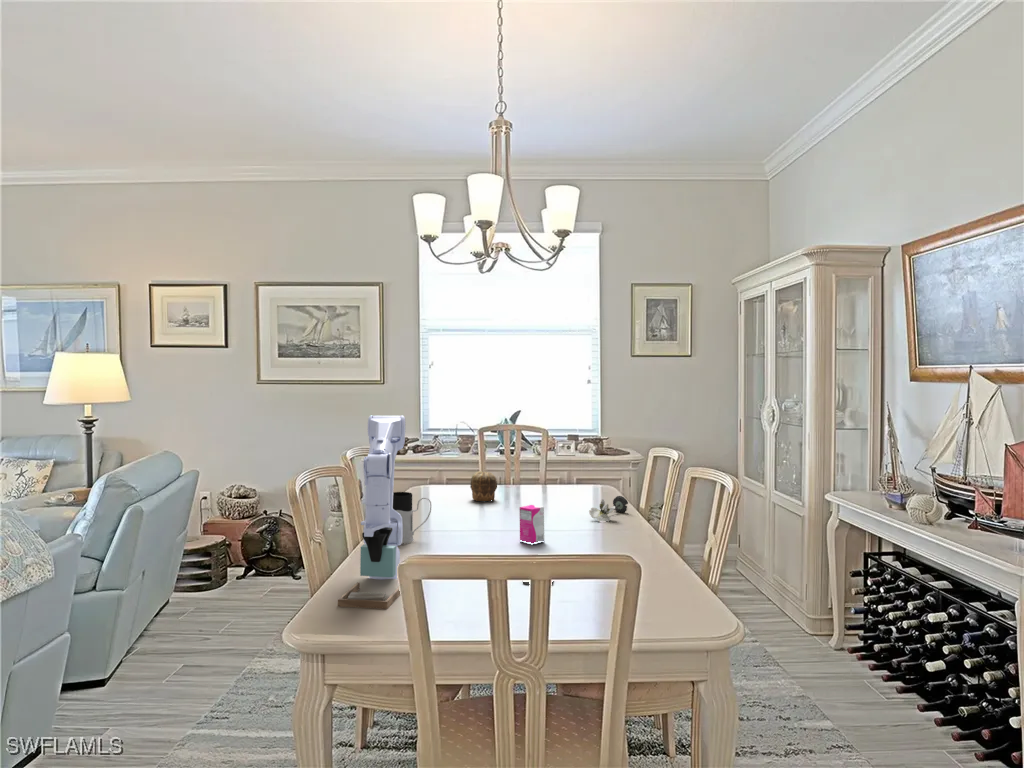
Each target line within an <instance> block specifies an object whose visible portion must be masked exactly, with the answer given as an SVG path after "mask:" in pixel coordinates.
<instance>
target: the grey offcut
mask: <svg viewBox="0 0 1024 768" xmlns="http://www.w3.org/2000/svg"><path fill="white" fill-rule="evenodd" d="M348 599H356V600H376V601H386V592H380V591H379V592H373V591H372V592H371V591H370V592H366V591H365V592H363V591H361V592H360V591H359V592H358V591H357V592H351V593H350V595H349V596H348Z"/></svg>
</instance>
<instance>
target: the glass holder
mask: <svg viewBox="0 0 1024 768" xmlns="http://www.w3.org/2000/svg"><path fill="white" fill-rule="evenodd" d="M422 500H427V501H428V502H429V503H430V505H429V506H430V507H429V513H428V514H427V517H426V519H424V521H423V522H422V523H421V524H420V525H418V526H417V527H416V528H415V529H413V528H414V522H413V521H414V519H413V518H414V517H413V516H414V513H413V512H417V511H418V510H419V507H420V506H419V505H420V502H421V501H422ZM416 505H417V508H416V509H413V492H409V491H393V509H394V510H395V511H396V512H398V513H399V514H400V515H401V517H402V524H403V539H402V543H401V544H400V545H404V544H403V543H407V544H410V543H409V542H411V543H413V542H414V541H415V538H414V535H415V532H416V531H417V530H418V529H419V528H420V527H422V526H423V525H424V524H425V523H426V522H427V521H428V519H429V517H430V515H431V513H432V501H431V499H429V498H428V497H421V498H420V499H419V500H418V501H417V504H416ZM413 540H414V541H413ZM412 541H413V542H412Z"/></svg>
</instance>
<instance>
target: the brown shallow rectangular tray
mask: <svg viewBox="0 0 1024 768" xmlns="http://www.w3.org/2000/svg"><path fill="white" fill-rule="evenodd" d="M360 587H361V584H360V581H359V582H356V583H354V585H352V587H350V588H349V589H348V590H347V591H345V593H343V594H342V596H340V597H339V598H337V607H343V608H344V607H346V608H358V609H359V608H362V609H363V608H365V609H379V610H380V609H383V610H387V609H389V608H390V606H392V605H393V604H394V602H395V601H396V600H397V599H398V598H399V597H400V595H401V594H400V591H399V586H398V587H397V588H396V589H395V590H394V591H393V593H391V594H390V595H389V597H388V598H387V599H385V601H376V600H356V599H348V596H349V595H350V593H351V592H358V591H360Z"/></svg>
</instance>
